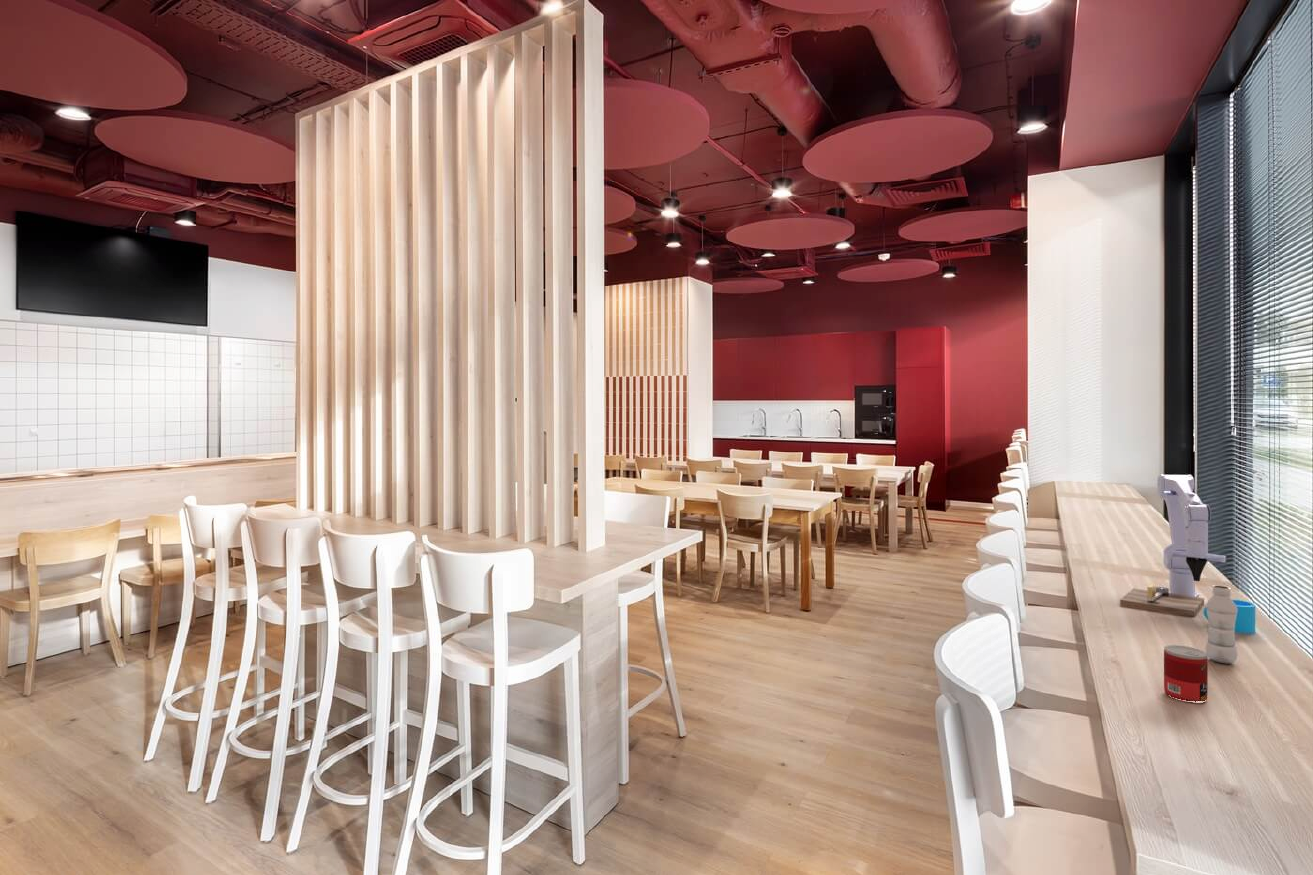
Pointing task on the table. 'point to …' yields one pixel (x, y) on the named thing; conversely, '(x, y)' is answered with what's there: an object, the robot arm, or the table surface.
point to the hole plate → (1163, 603)
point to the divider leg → (1156, 592)
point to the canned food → (1185, 673)
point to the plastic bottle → (1221, 626)
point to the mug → (1242, 617)
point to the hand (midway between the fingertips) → (1196, 580)
